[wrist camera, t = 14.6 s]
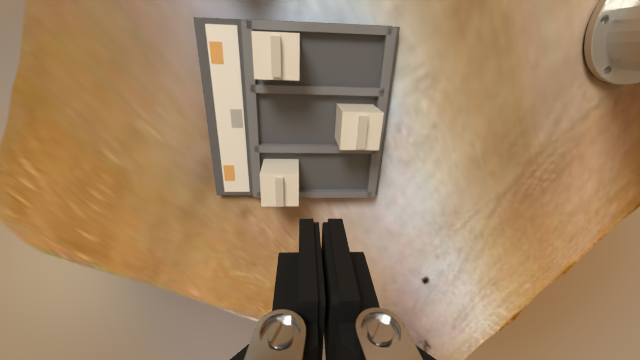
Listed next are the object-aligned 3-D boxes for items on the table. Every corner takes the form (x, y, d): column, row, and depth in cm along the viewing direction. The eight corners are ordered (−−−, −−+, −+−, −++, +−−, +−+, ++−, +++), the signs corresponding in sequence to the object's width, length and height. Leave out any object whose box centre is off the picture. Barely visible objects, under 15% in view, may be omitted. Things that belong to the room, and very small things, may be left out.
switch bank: (396, 27, 30) (402, 26, 28) (375, 191, 38) (378, 197, 36) (196, 18, 28) (190, 16, 26) (218, 191, 36) (215, 198, 34)
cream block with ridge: (372, 104, 31) (385, 114, 27) (369, 137, 33) (380, 152, 29) (336, 103, 31) (343, 113, 27) (334, 137, 33) (340, 152, 28)
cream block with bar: (299, 34, 28) (299, 32, 24) (298, 76, 30) (299, 81, 25) (257, 33, 28) (250, 30, 23) (259, 74, 29) (253, 80, 25)
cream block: (298, 159, 34) (298, 176, 29) (298, 188, 35) (298, 209, 31) (263, 158, 33) (258, 176, 29) (265, 188, 35) (260, 209, 30)
